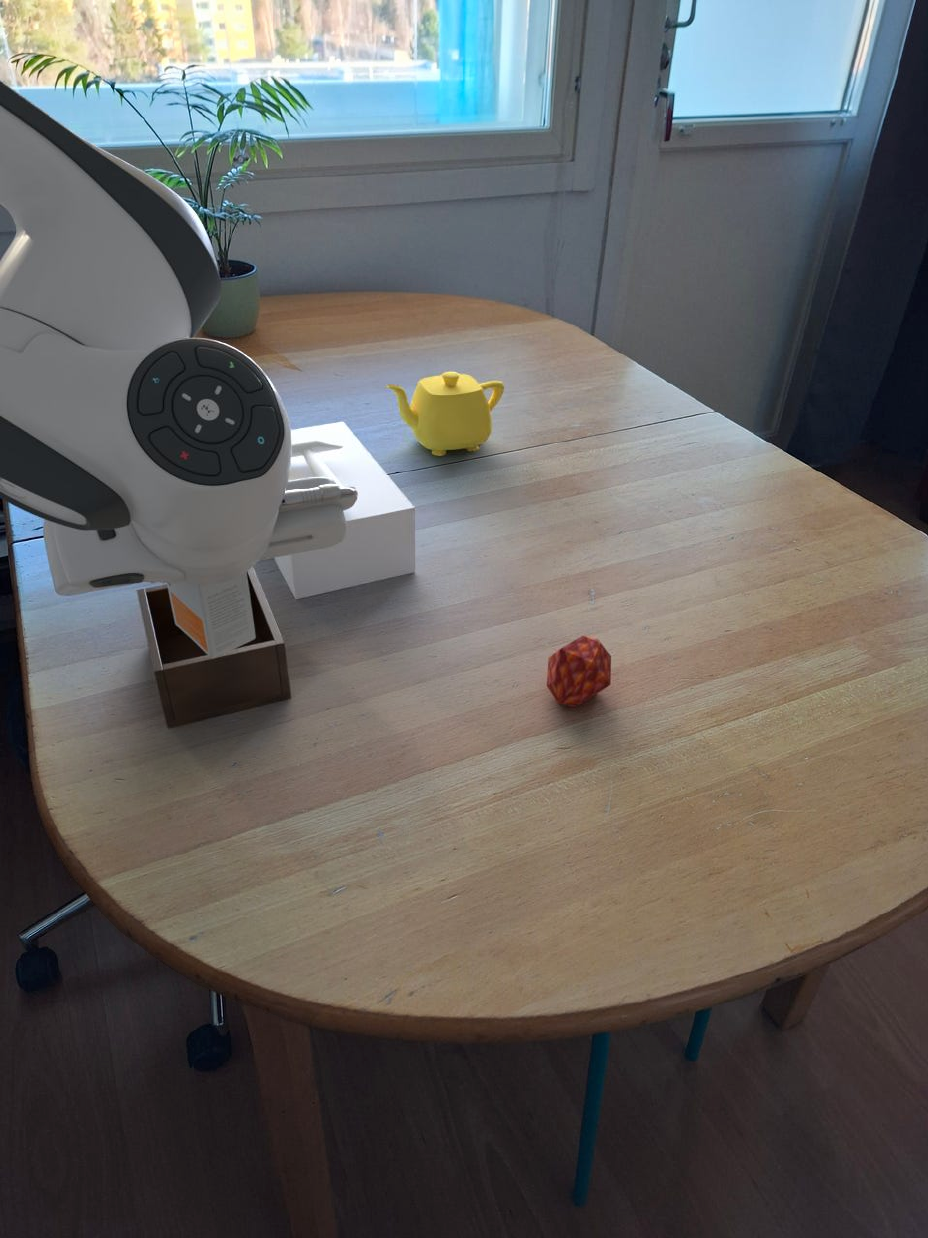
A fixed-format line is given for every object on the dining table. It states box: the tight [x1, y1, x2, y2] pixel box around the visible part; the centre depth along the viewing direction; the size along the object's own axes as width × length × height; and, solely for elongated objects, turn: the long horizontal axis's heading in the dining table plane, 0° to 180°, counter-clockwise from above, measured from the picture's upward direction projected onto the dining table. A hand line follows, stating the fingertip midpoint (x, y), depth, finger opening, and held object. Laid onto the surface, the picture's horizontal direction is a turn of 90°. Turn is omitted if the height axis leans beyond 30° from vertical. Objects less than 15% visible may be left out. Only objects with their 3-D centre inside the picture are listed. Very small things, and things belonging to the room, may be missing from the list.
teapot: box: [385, 371, 505, 457], centre depth 128 cm, size 18×11×11 cm, turn 110°
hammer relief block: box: [273, 421, 416, 600], centre depth 106 cm, size 14×25×11 cm, turn 25°
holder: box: [136, 567, 292, 729], centre depth 85 cm, size 12×14×7 cm
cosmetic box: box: [166, 572, 256, 658], centre depth 68 cm, size 6×4×12 cm
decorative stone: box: [546, 635, 612, 708], centre depth 84 cm, size 6×7×8 cm
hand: (202, 563), depth 68 cm, fingers closed on cosmetic box, 5 cm apart
